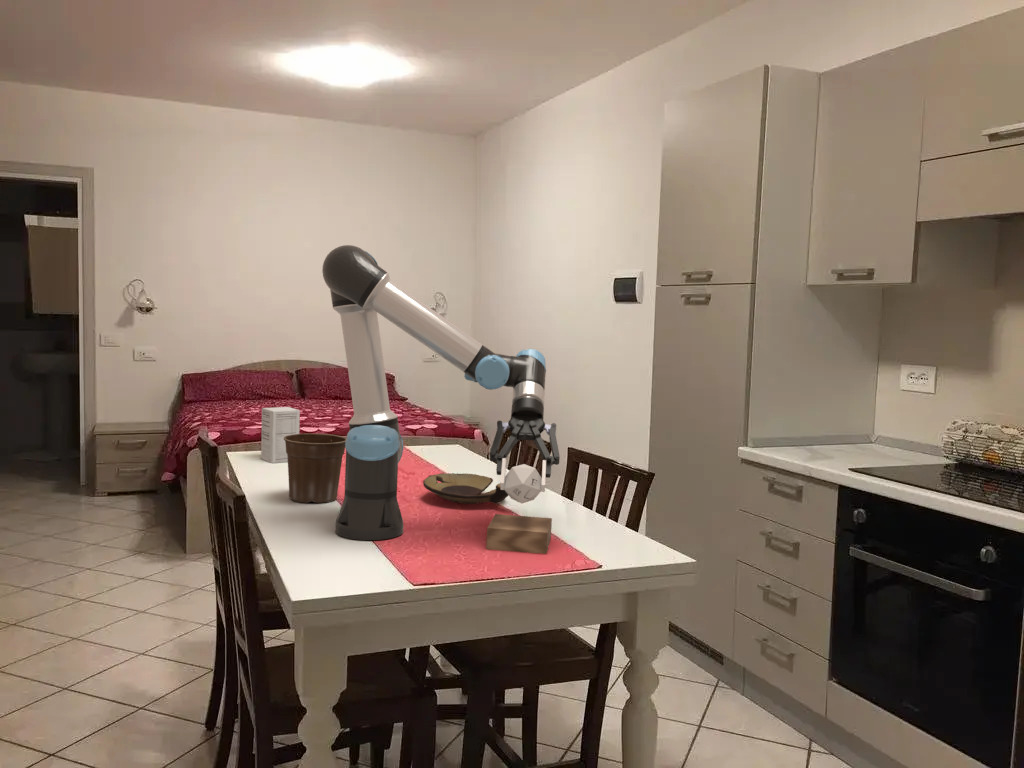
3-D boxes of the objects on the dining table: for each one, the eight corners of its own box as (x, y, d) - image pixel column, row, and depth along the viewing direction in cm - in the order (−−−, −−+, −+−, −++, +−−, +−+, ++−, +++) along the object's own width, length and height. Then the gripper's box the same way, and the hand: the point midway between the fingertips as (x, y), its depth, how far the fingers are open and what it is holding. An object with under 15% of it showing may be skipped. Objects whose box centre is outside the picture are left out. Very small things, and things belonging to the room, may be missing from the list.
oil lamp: (482, 488, 238) (483, 462, 237) (532, 513, 211) (533, 483, 211) (409, 493, 228) (410, 465, 227) (452, 519, 201) (453, 488, 200)
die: (499, 506, 177) (524, 475, 174) (492, 480, 184) (515, 449, 181) (530, 517, 181) (555, 486, 178) (521, 490, 188) (545, 461, 184)
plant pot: (358, 497, 219) (360, 437, 218) (319, 508, 204) (321, 444, 203) (309, 489, 226) (310, 431, 224) (268, 500, 211) (270, 437, 210)
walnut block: (486, 550, 176) (487, 527, 176) (494, 535, 189) (495, 513, 189) (546, 555, 175) (547, 532, 174) (550, 539, 188) (551, 518, 187)
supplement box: (287, 456, 274) (289, 406, 272) (299, 461, 266) (301, 409, 265) (259, 458, 267) (261, 407, 266) (271, 463, 260) (272, 410, 259)
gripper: (571, 417, 195) (570, 499, 180) (483, 413, 196) (474, 494, 181) (573, 397, 189) (572, 480, 174) (482, 393, 190) (473, 475, 175)
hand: (522, 487), depth 178 cm, fingers closed on die, 8 cm apart
